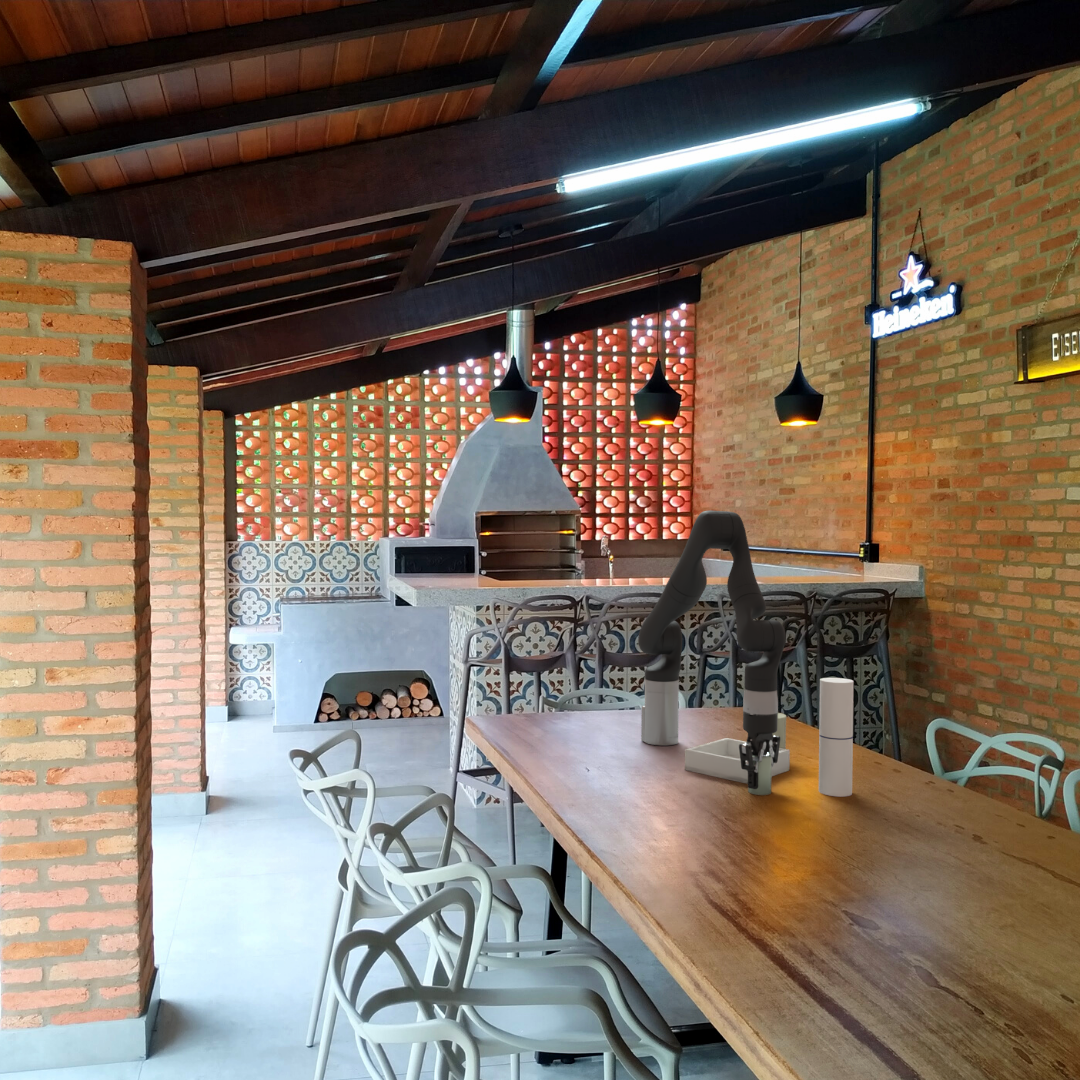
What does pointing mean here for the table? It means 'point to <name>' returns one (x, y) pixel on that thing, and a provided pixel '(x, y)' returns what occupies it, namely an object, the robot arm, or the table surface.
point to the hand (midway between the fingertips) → (759, 785)
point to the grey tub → (727, 760)
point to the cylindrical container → (836, 736)
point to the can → (781, 730)
